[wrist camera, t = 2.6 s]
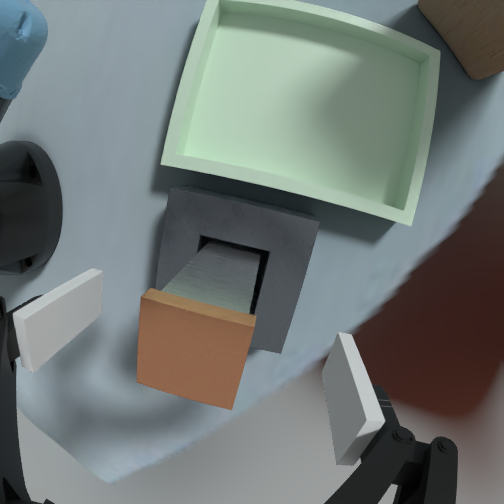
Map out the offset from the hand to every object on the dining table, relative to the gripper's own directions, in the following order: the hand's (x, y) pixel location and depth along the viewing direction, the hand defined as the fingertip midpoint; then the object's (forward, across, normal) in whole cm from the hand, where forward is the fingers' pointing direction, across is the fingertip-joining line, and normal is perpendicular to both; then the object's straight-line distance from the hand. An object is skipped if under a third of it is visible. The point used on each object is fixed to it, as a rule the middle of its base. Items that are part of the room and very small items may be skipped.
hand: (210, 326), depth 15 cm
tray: (+11, +3, +15) cm, 19 cm away
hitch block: (+12, 0, 0) cm, 12 cm away
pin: (+12, 0, 0) cm, 12 cm away
